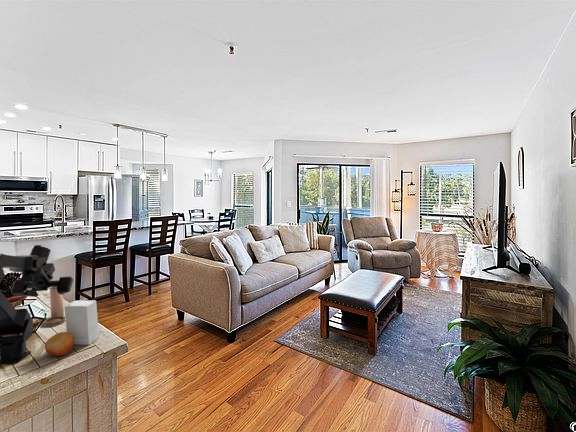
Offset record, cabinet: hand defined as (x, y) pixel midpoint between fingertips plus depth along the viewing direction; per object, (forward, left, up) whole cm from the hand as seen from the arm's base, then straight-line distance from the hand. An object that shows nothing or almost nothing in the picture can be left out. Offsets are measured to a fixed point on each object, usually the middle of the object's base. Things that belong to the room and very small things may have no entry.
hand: (50, 294), depth 122 cm
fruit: (-26, -18, -12) cm, 34 cm away
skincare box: (-18, -21, -12) cm, 30 cm away
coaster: (-1, -2, -12) cm, 12 cm away
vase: (+5, +1, -12) cm, 13 cm away
